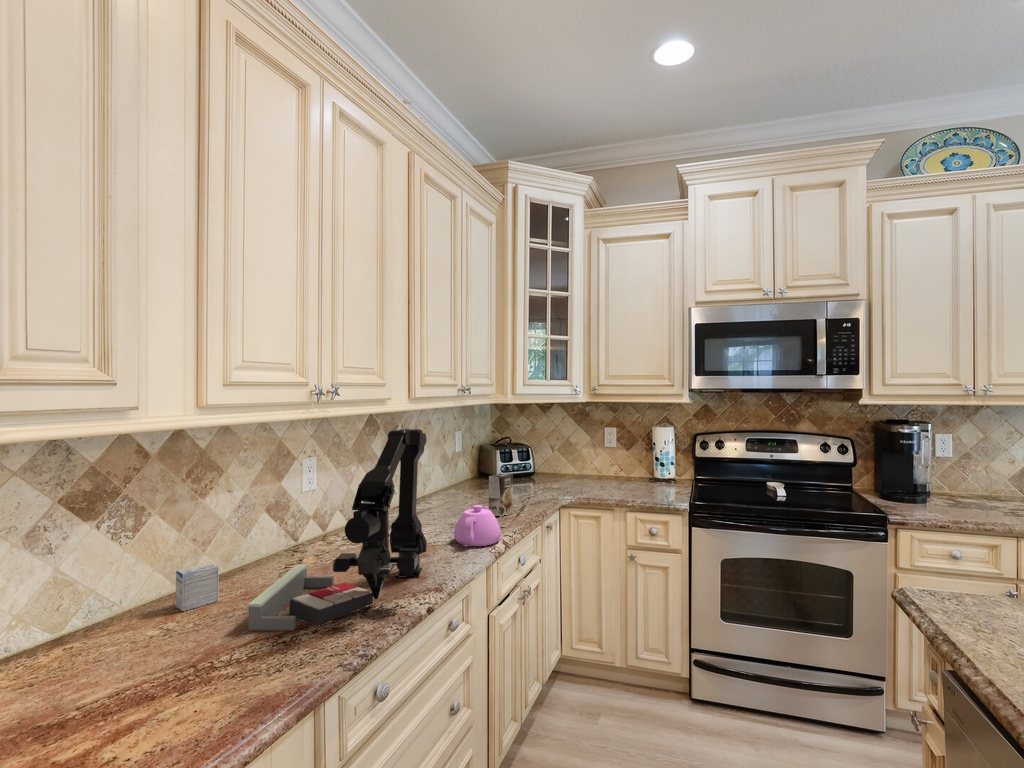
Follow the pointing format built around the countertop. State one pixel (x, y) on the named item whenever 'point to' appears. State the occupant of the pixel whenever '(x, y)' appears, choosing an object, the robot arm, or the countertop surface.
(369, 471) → the robot arm
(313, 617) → the calculator
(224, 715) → the countertop surface
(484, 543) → the teapot
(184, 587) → the medicine box
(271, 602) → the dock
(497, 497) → the coffee box
